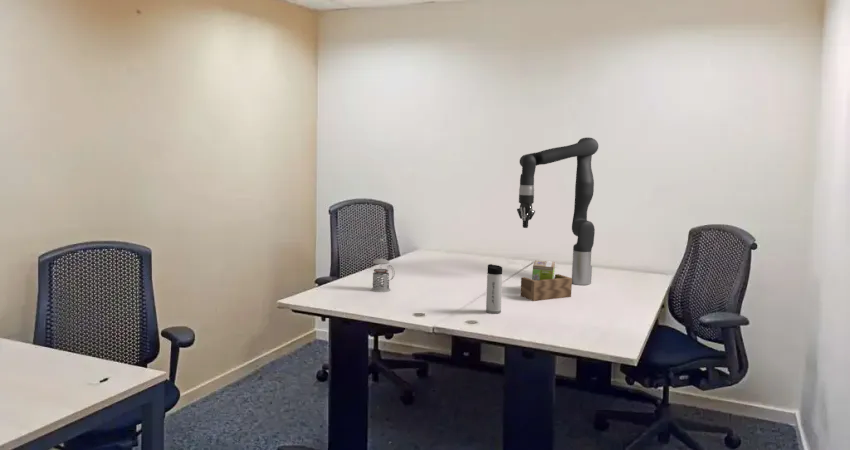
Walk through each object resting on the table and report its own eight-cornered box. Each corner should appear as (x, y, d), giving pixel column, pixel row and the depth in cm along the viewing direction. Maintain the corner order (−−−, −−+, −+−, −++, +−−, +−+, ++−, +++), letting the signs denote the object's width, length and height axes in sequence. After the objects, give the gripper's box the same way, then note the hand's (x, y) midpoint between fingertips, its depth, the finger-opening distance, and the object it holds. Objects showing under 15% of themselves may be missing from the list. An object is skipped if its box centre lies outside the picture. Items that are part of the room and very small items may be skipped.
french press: (375, 287, 313) (376, 236, 310) (397, 289, 309) (398, 238, 306) (367, 291, 304) (367, 239, 300) (389, 293, 300) (390, 240, 297)
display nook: (557, 292, 310) (558, 274, 309) (571, 296, 301) (572, 278, 300) (520, 296, 300) (521, 277, 299) (533, 301, 291) (534, 281, 290)
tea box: (552, 297, 300) (553, 266, 298) (530, 295, 302) (532, 265, 300) (553, 290, 314) (555, 261, 312) (533, 289, 316) (534, 259, 315)
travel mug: (492, 309, 275) (494, 263, 272) (503, 312, 270) (505, 265, 267) (482, 311, 271) (483, 264, 269) (493, 314, 266) (495, 267, 263)
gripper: (540, 194, 320) (539, 229, 322) (524, 192, 332) (523, 225, 334) (528, 195, 317) (527, 229, 319) (512, 193, 328) (511, 226, 331)
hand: (525, 227), depth 326 cm, fingers closed
